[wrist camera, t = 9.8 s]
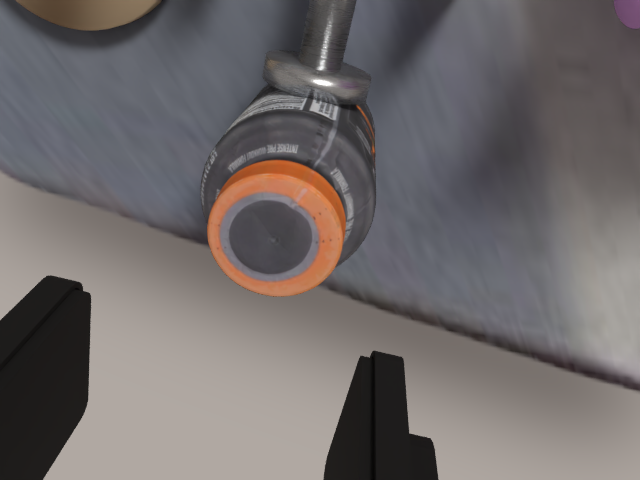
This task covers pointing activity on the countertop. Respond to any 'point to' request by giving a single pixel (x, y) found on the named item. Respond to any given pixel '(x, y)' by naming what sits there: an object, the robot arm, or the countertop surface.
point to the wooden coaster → (90, 12)
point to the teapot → (628, 12)
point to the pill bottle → (290, 191)
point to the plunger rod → (320, 58)
